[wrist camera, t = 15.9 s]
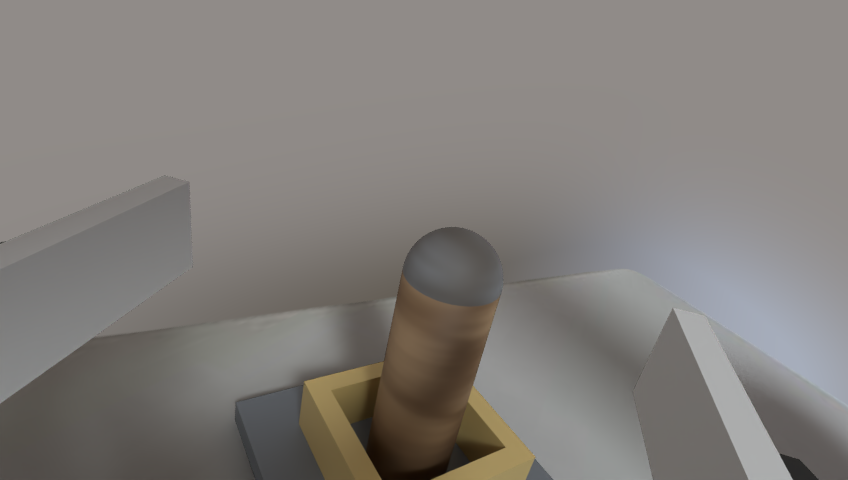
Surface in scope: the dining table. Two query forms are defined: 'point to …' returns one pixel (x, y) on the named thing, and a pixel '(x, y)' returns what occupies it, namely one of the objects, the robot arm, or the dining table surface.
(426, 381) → the grey-capped wooden peg
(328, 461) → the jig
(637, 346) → the dining table surface
